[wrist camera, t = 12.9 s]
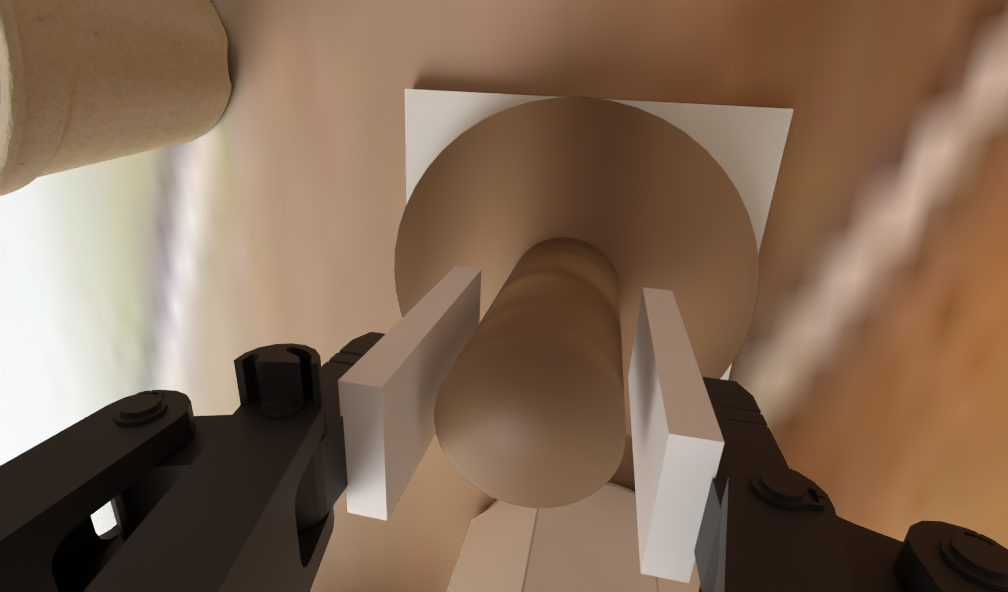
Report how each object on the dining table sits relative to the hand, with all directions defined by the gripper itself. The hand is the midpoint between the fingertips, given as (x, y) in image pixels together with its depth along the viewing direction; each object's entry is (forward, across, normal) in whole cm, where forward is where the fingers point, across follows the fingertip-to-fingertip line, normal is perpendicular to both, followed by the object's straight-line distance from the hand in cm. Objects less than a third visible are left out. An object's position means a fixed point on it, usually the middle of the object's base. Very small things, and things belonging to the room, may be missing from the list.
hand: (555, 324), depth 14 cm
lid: (+4, 0, 0) cm, 4 cm away
